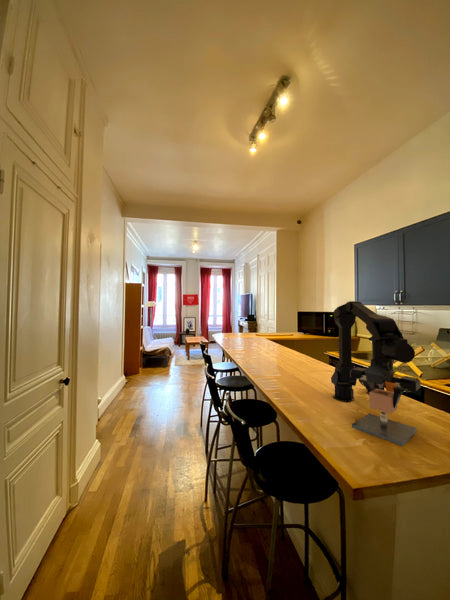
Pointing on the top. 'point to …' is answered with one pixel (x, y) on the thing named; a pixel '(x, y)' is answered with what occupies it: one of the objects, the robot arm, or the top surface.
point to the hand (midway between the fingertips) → (383, 404)
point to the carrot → (390, 385)
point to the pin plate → (385, 428)
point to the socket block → (381, 400)
